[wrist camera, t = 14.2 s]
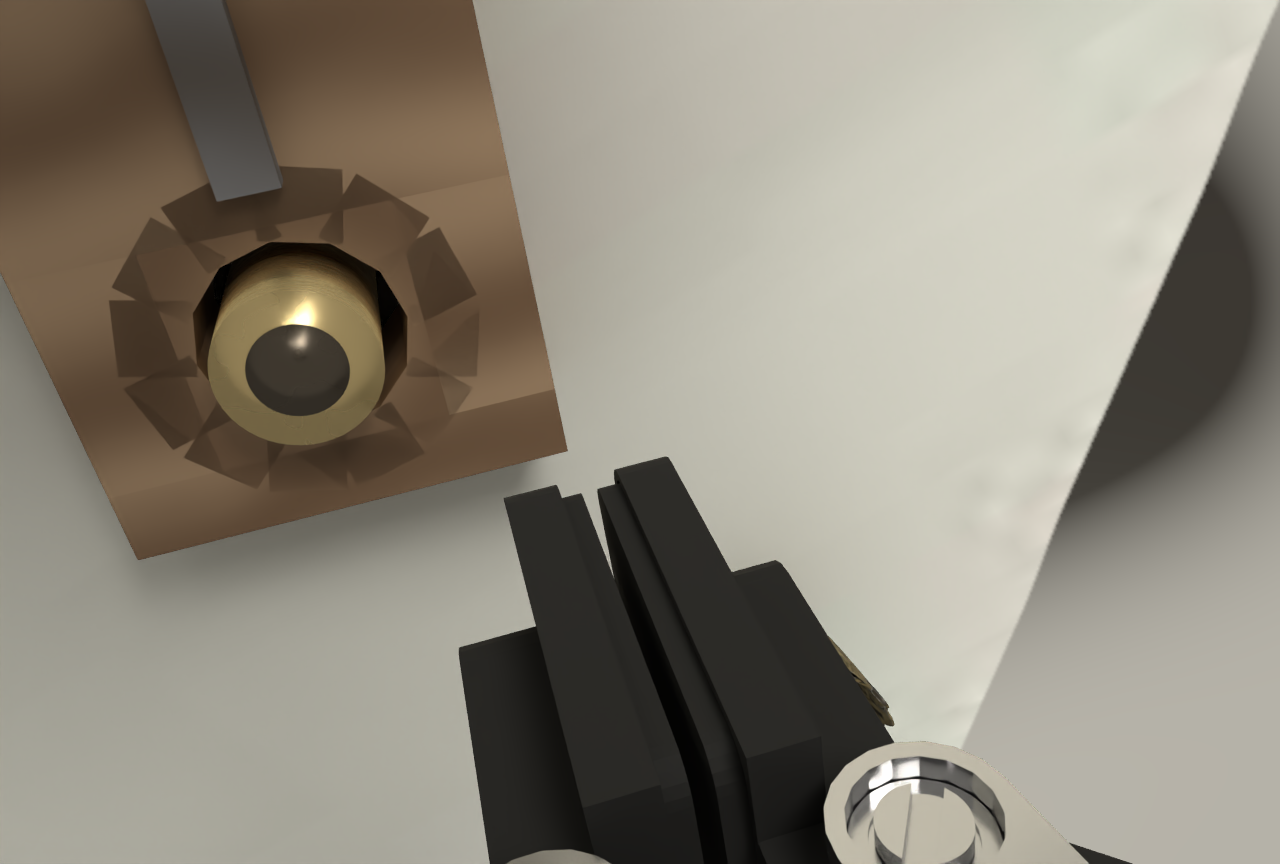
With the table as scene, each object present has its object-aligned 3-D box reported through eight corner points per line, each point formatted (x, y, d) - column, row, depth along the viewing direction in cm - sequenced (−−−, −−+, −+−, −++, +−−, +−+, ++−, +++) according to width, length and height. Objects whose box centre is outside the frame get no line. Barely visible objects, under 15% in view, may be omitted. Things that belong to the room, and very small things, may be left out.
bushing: (209, 229, 33) (181, 314, 26) (354, 197, 33) (358, 273, 27) (256, 358, 35) (240, 464, 29) (391, 326, 35) (403, 423, 29)
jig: (-105, -126, 27) (-205, -122, 22) (411, -211, 29) (427, -224, 24) (161, 475, 36) (133, 576, 31) (541, 382, 38) (572, 463, 33)
